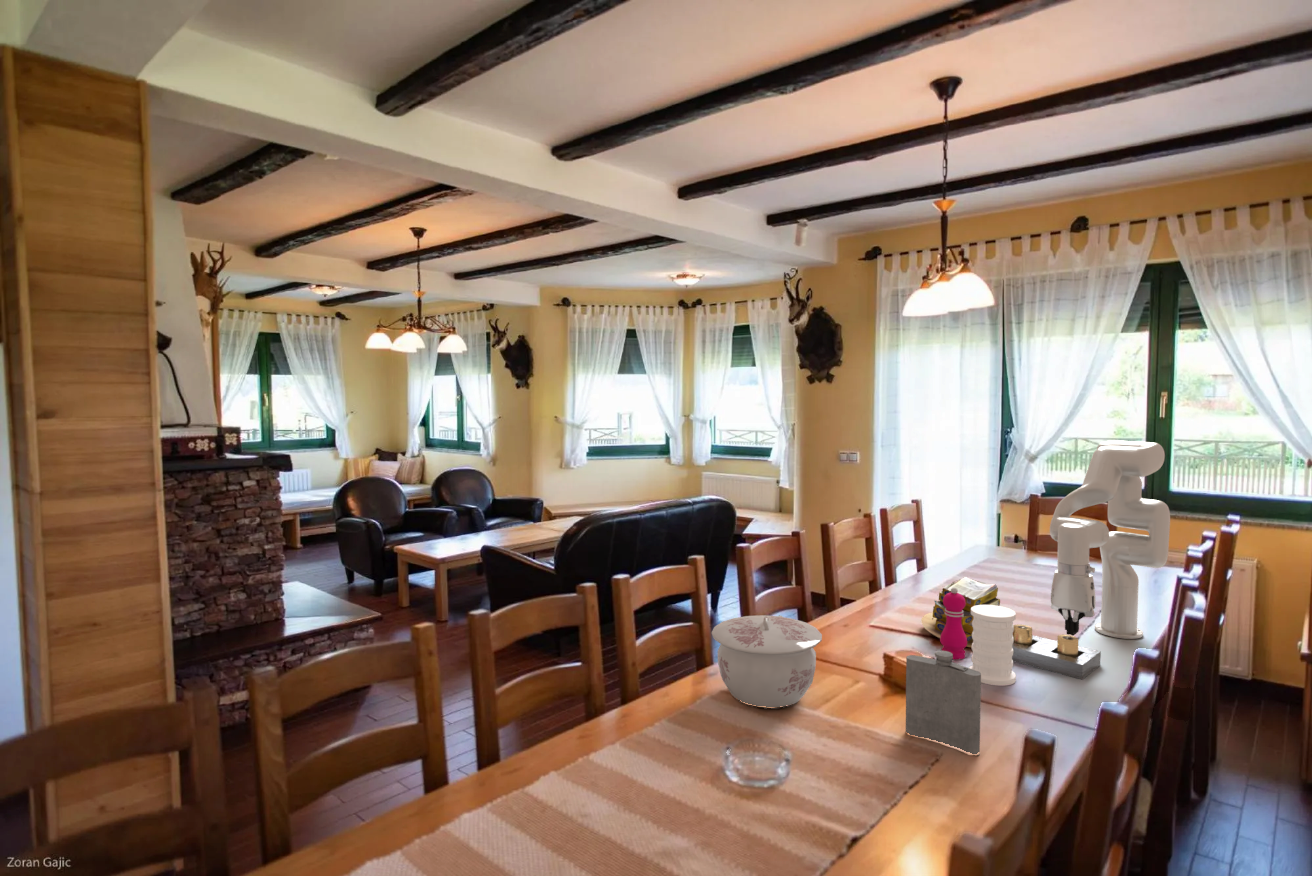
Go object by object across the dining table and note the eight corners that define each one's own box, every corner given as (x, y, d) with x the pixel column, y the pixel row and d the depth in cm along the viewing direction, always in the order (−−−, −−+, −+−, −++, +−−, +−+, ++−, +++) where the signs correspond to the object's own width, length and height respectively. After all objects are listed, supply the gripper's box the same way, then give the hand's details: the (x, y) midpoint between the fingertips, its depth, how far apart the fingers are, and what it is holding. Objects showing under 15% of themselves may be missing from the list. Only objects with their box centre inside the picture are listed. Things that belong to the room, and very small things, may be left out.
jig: (1010, 643, 217) (1011, 617, 216) (1100, 665, 199) (1101, 637, 198) (990, 655, 208) (990, 627, 207) (1082, 679, 190) (1083, 650, 189)
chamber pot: (753, 732, 164) (752, 643, 162) (692, 688, 188) (691, 610, 186) (847, 706, 176) (847, 623, 175) (778, 667, 201) (778, 595, 199)
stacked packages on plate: (1026, 641, 219) (1027, 587, 217) (966, 654, 208) (967, 597, 207) (961, 617, 241) (962, 568, 240) (904, 629, 231) (904, 577, 230)
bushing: (1061, 660, 202) (1061, 633, 202) (1080, 665, 198) (1081, 637, 198) (1054, 666, 199) (1054, 638, 198) (1074, 671, 195) (1074, 642, 194)
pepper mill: (969, 661, 203) (970, 591, 202) (942, 659, 205) (943, 590, 203) (964, 652, 210) (965, 584, 209) (937, 650, 212) (938, 583, 210)
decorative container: (969, 682, 189) (970, 615, 188) (966, 666, 200) (967, 602, 199) (1018, 688, 185) (1020, 619, 184) (1013, 671, 196) (1014, 606, 195)
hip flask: (903, 733, 162) (904, 647, 161) (910, 727, 165) (911, 642, 164) (976, 758, 151) (978, 665, 150) (983, 750, 154) (984, 659, 153)
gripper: (1108, 570, 194) (1107, 637, 196) (1049, 561, 205) (1048, 623, 207) (1098, 576, 189) (1097, 644, 191) (1038, 566, 200) (1037, 630, 202)
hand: (1071, 633), depth 199 cm, fingers closed
